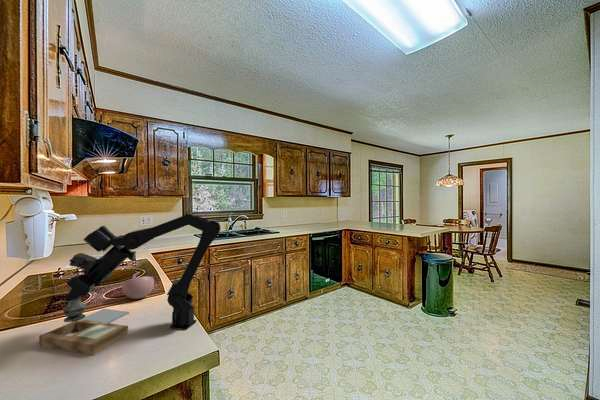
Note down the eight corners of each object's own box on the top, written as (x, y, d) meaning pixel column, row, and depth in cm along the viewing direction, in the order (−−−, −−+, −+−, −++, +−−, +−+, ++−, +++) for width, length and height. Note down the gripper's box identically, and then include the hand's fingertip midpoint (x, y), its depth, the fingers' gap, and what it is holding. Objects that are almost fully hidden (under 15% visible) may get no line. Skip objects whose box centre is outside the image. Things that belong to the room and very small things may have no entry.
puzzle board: (127, 334, 86) (127, 324, 86) (93, 355, 75) (93, 343, 75) (78, 327, 90) (78, 318, 90) (39, 345, 79) (39, 334, 79)
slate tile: (129, 313, 102) (129, 311, 102) (99, 328, 90) (99, 326, 90) (103, 310, 104) (103, 308, 104) (71, 324, 92) (71, 322, 92)
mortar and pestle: (151, 291, 126) (151, 267, 126) (156, 299, 116) (156, 273, 116) (121, 296, 118) (121, 271, 118) (123, 305, 109) (124, 278, 109)
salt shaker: (72, 323, 80) (72, 284, 80) (57, 321, 81) (57, 282, 81) (91, 315, 86) (91, 278, 86) (76, 313, 87) (77, 277, 87)
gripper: (101, 240, 94) (63, 273, 90) (75, 250, 76) (26, 292, 73) (127, 260, 96) (91, 294, 93) (107, 275, 78) (61, 316, 75)
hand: (69, 298), depth 83 cm, fingers closed on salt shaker, 4 cm apart
